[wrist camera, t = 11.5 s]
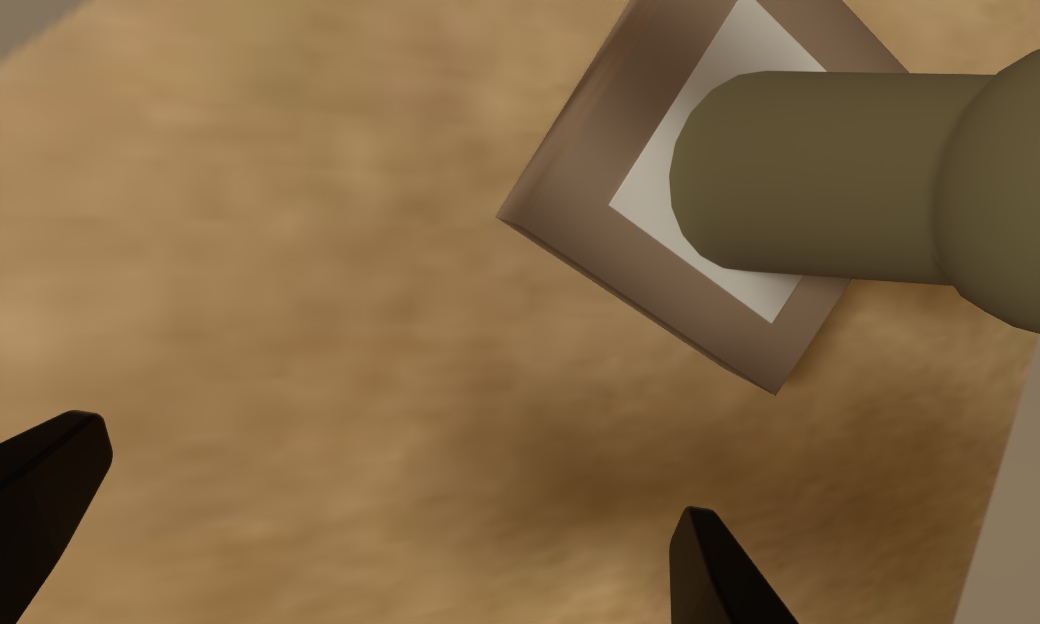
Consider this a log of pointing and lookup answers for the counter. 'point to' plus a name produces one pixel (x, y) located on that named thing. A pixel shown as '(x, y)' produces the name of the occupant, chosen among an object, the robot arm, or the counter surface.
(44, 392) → the counter surface
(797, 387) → the counter surface
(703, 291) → the walnut plinth
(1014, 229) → the olive green peg figure
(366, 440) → the counter surface
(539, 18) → the counter surface
